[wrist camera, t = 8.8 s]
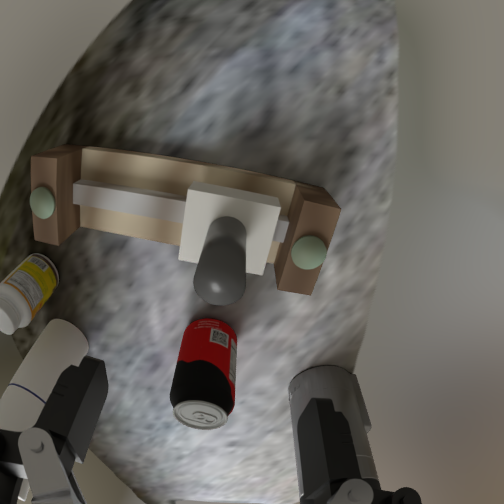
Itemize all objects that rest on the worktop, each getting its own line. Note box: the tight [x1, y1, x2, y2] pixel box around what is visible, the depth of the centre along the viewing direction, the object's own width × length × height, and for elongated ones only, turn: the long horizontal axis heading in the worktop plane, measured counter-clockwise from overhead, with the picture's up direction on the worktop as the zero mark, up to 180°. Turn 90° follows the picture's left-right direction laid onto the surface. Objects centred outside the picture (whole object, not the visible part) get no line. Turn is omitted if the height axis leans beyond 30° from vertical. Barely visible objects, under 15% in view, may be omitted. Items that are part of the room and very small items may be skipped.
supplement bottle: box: [0, 253, 59, 335], centre depth 27 cm, size 6×6×10 cm
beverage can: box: [170, 318, 237, 430], centre depth 31 cm, size 6×6×12 cm
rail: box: [30, 144, 341, 295], centre depth 26 cm, size 26×8×6 cm, turn 78°
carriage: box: [178, 181, 281, 305], centre depth 22 cm, size 7×6×10 cm
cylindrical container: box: [0, 319, 89, 501], centre depth 26 cm, size 7×7×25 cm
